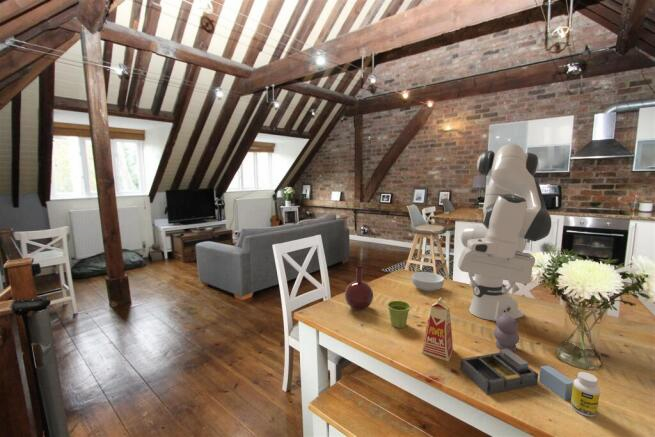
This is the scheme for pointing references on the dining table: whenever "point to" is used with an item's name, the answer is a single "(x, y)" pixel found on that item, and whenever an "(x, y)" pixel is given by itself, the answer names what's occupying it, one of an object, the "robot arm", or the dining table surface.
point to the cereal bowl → (427, 281)
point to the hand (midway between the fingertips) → (488, 289)
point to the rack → (499, 371)
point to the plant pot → (398, 313)
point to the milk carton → (438, 332)
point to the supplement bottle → (585, 394)
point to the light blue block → (556, 382)
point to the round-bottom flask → (359, 292)
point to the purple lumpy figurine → (506, 333)
